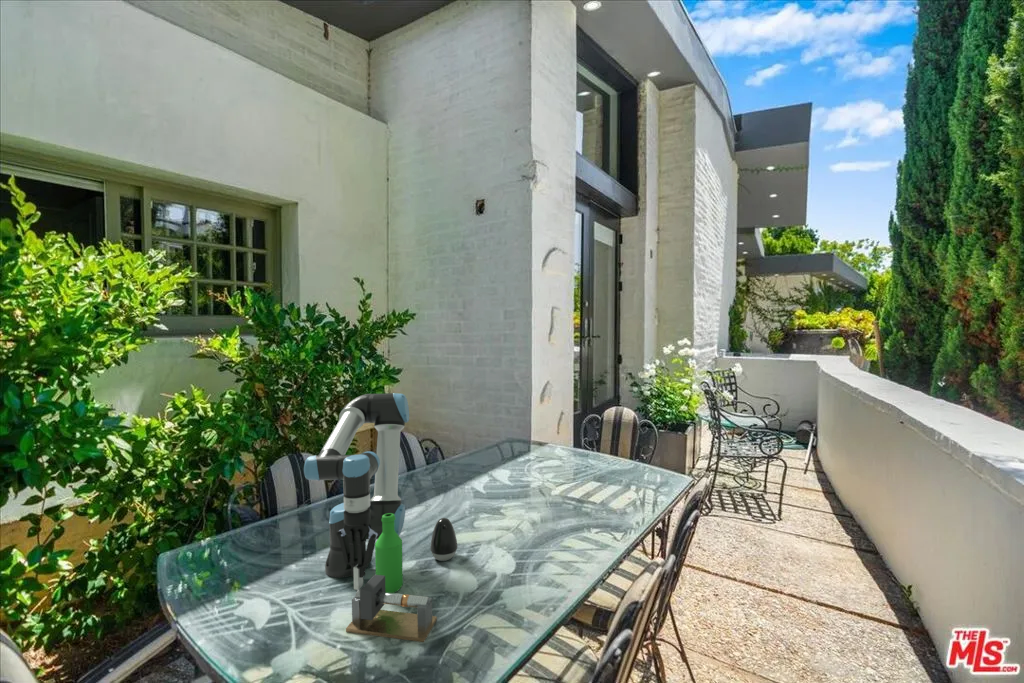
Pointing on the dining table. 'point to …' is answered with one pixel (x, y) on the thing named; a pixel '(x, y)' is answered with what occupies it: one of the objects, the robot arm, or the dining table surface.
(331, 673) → the dining table surface
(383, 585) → the grey sliding block
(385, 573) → the bottle
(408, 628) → the pipe stand
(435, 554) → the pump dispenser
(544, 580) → the dining table surface
